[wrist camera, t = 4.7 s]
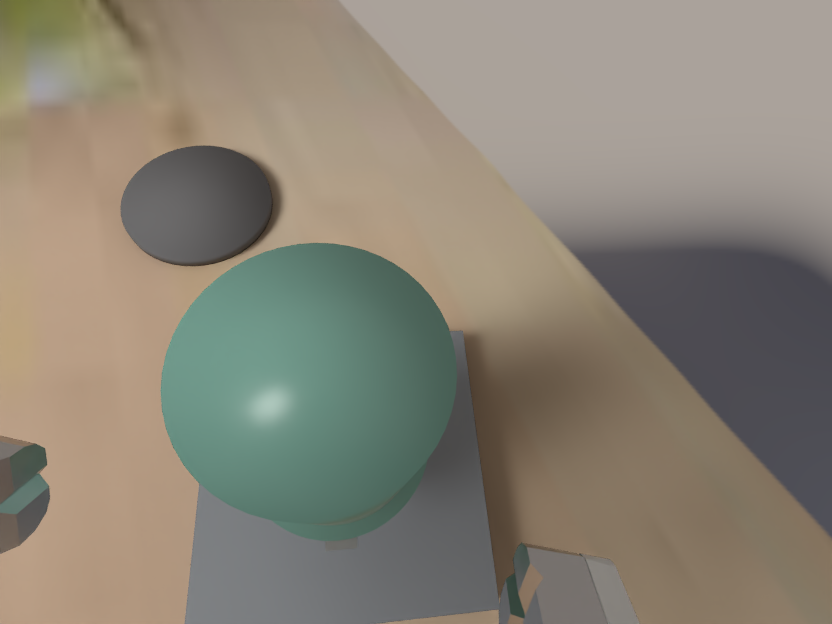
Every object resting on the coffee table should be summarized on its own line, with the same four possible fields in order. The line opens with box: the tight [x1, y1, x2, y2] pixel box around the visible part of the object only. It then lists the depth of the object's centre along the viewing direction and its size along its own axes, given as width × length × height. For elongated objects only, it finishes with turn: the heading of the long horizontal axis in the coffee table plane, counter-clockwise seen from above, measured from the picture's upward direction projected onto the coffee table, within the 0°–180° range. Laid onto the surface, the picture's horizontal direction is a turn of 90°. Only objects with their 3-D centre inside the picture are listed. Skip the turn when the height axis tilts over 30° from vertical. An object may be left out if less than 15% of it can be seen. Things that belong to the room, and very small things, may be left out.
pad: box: [121, 146, 272, 266], centre depth 27 cm, size 8×8×1 cm
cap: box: [161, 243, 457, 541], centre depth 12 cm, size 6×6×8 cm
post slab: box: [185, 331, 500, 624], centre depth 21 cm, size 12×12×2 cm
